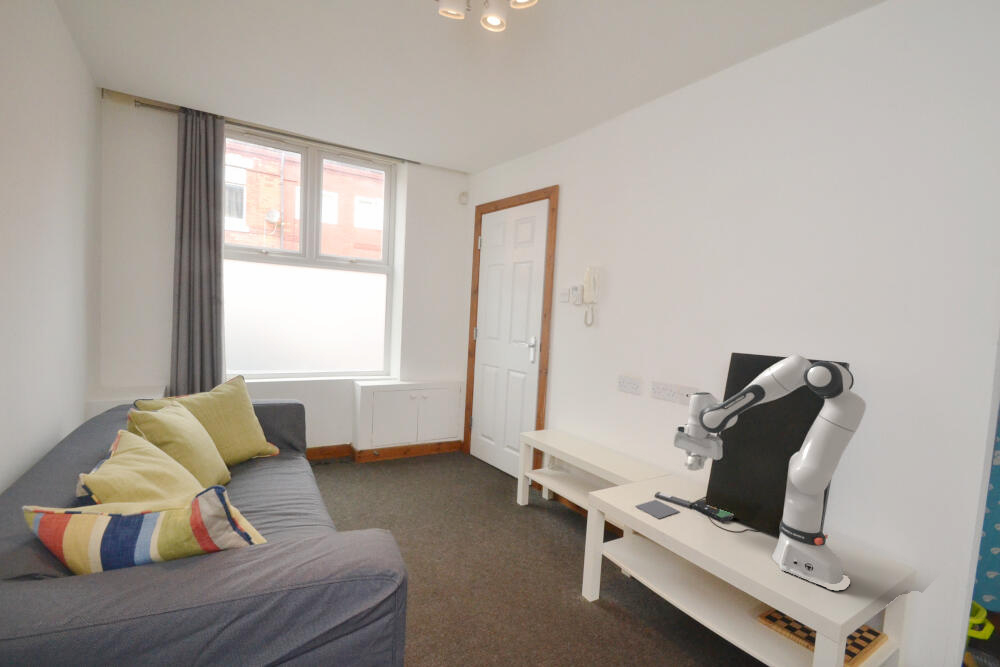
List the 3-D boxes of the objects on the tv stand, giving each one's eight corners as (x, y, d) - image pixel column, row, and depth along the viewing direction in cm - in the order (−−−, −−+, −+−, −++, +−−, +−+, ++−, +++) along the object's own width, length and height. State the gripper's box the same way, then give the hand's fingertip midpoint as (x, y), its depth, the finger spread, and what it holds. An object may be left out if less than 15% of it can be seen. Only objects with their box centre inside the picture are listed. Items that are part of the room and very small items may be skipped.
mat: (679, 512, 195) (679, 511, 195) (658, 519, 187) (658, 518, 187) (655, 500, 205) (655, 499, 205) (635, 506, 197) (635, 505, 197)
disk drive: (689, 509, 201) (721, 524, 188) (690, 502, 200) (722, 517, 188) (703, 504, 206) (735, 519, 194) (704, 498, 206) (736, 512, 194)
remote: (691, 506, 203) (691, 501, 203) (688, 509, 200) (689, 504, 200) (657, 495, 212) (658, 491, 212) (654, 498, 209) (654, 493, 209)
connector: (705, 467, 192) (706, 456, 191) (690, 472, 186) (691, 459, 185) (697, 465, 194) (698, 453, 194) (682, 469, 188) (683, 457, 188)
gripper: (727, 436, 183) (724, 470, 184) (681, 424, 200) (678, 455, 201) (718, 438, 179) (715, 473, 180) (672, 425, 196) (670, 457, 197)
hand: (695, 463), depth 191 cm, fingers closed on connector, 3 cm apart
